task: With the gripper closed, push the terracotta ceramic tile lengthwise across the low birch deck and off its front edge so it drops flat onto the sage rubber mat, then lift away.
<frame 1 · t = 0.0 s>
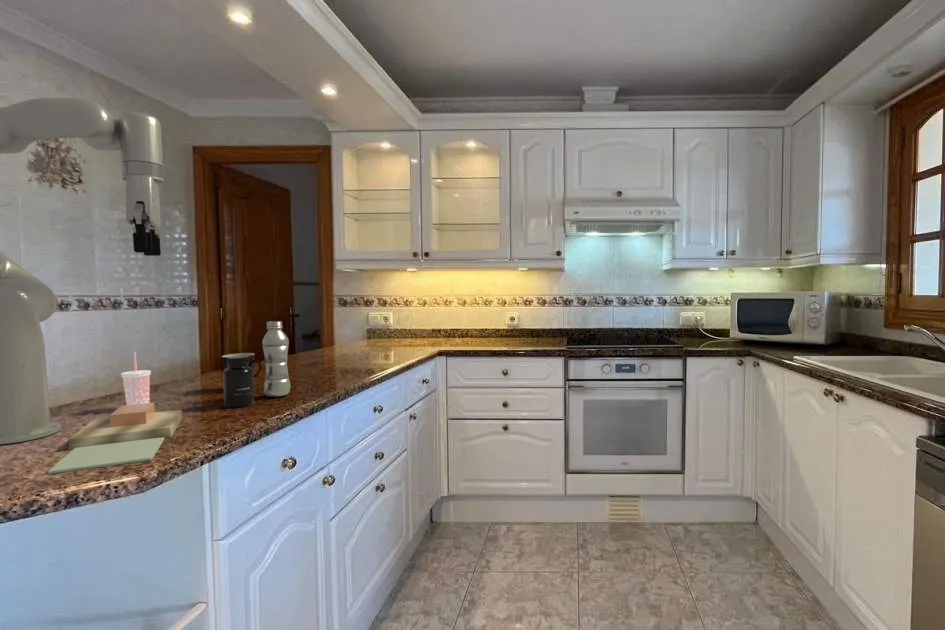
hand: (148, 254, 108), 37 cm above the worktop, tool pointing down, fingers open, 9 cm apart
beverage cup: (138, 408, 123), on the worktop
plastic bottle: (277, 397, 133), on the worktop
birch deck: (131, 432, 101), on the worktop
terracotta tile: (133, 419, 104), point 2 cm above the worktop, touching birch deck
sage mat: (111, 454, 88), on the worktop
coffee mug: (242, 391, 142), on the worktop
supplement bottle: (239, 405, 124), on the worktop
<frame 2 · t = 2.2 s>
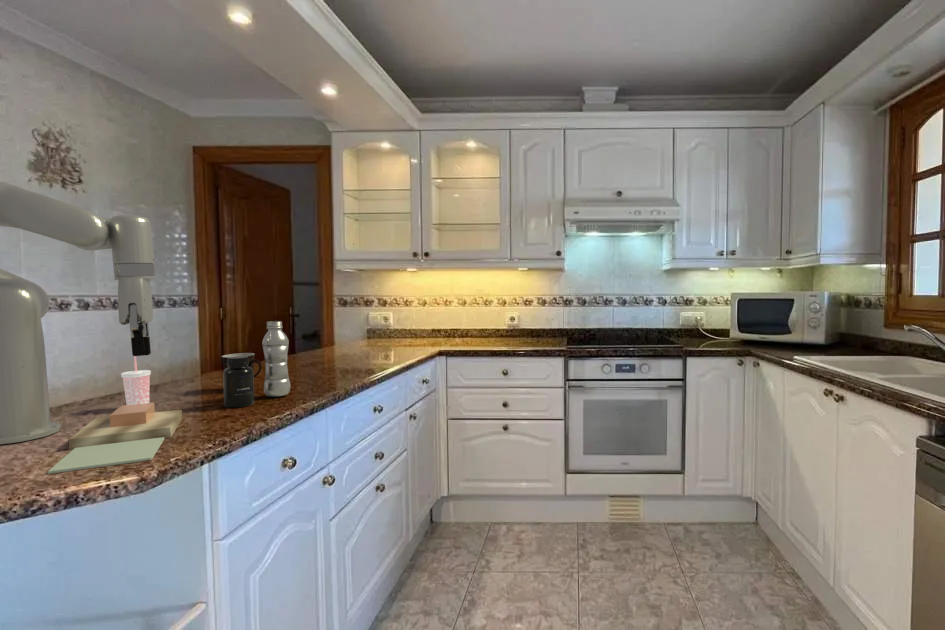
hand: (141, 355, 111), 15 cm above the worktop, tool pointing down, fingers closed
nothing on the worktop moved.
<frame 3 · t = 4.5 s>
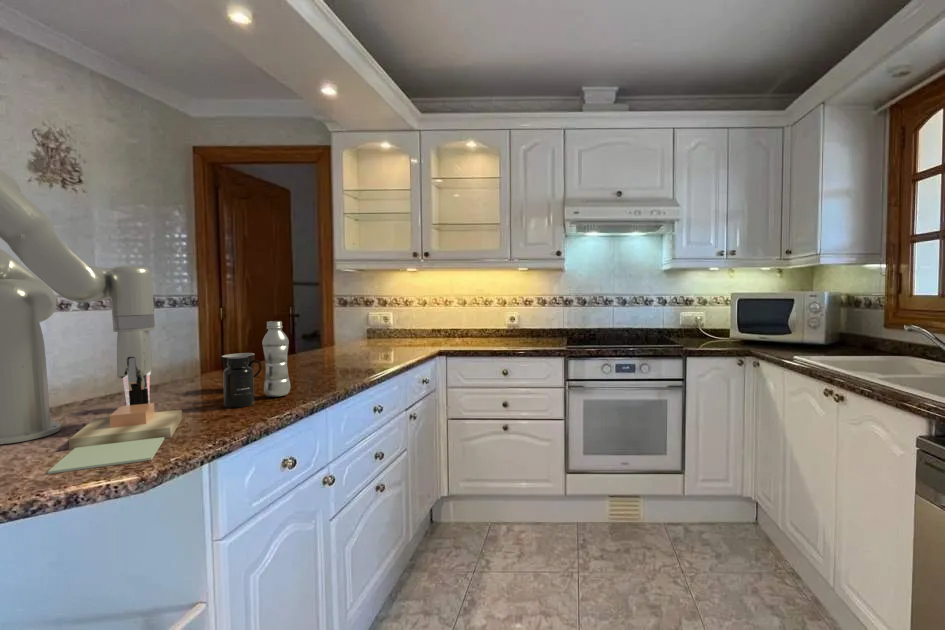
hand: (139, 407, 109), 3 cm above the worktop, tool pointing down, fingers closed
terracotta tile: (133, 420, 103), point 2 cm above the worktop, touching birch deck, gripper
everything else where it was.
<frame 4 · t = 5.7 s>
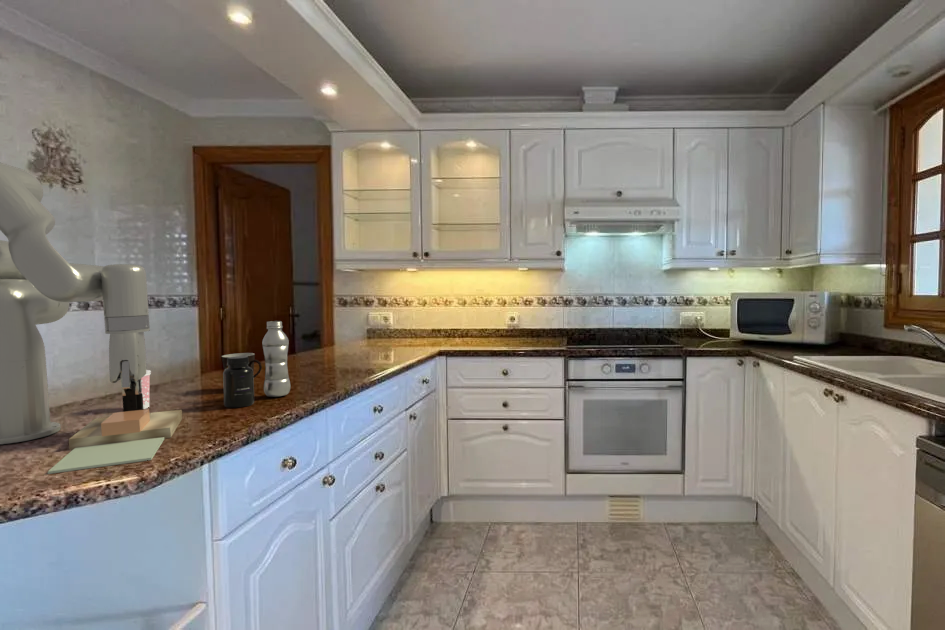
hand: (133, 413, 103), 4 cm above the worktop, tool pointing down, fingers closed
terracotta tile: (127, 428, 97), point 2 cm above the worktop, touching birch deck, gripper
everything else where it was.
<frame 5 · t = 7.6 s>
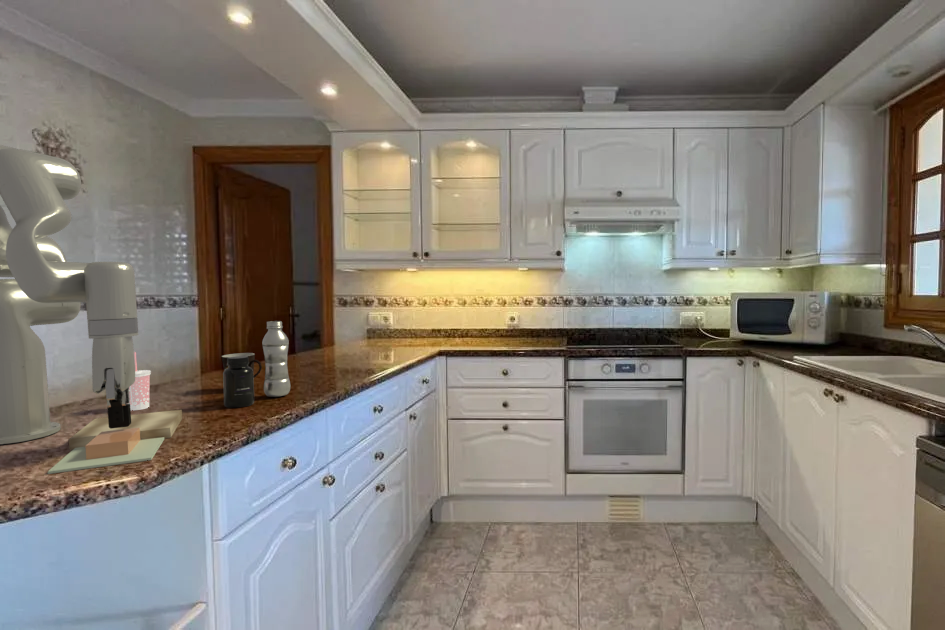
hand: (120, 426, 93), 4 cm above the worktop, tool pointing down, fingers closed
terracotta tile: (115, 449, 89), resting on sage mat
everything else where it was.
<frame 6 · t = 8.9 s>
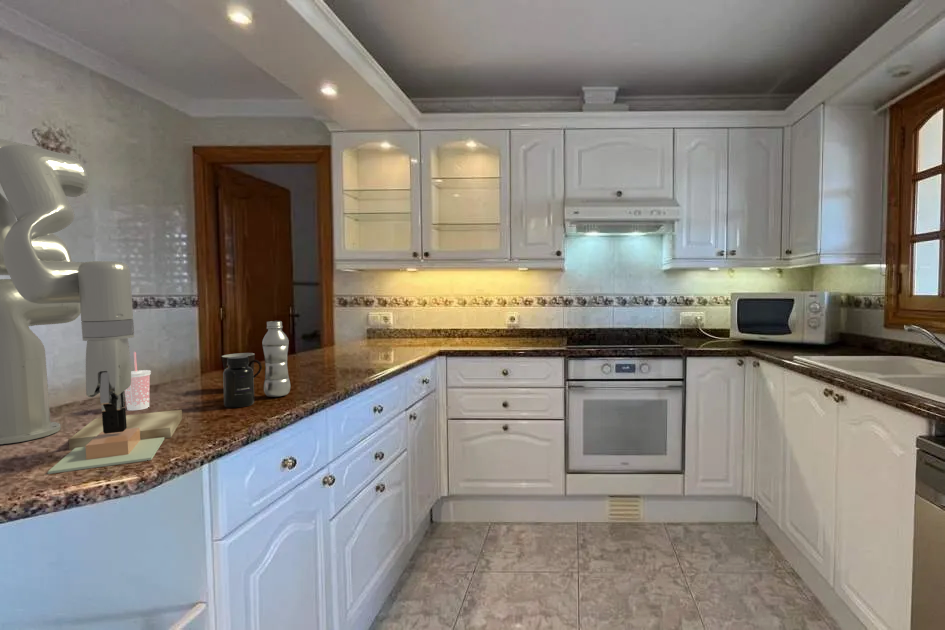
hand: (115, 431, 90), 3 cm above the worktop, tool pointing down, fingers closed
nothing on the worktop moved.
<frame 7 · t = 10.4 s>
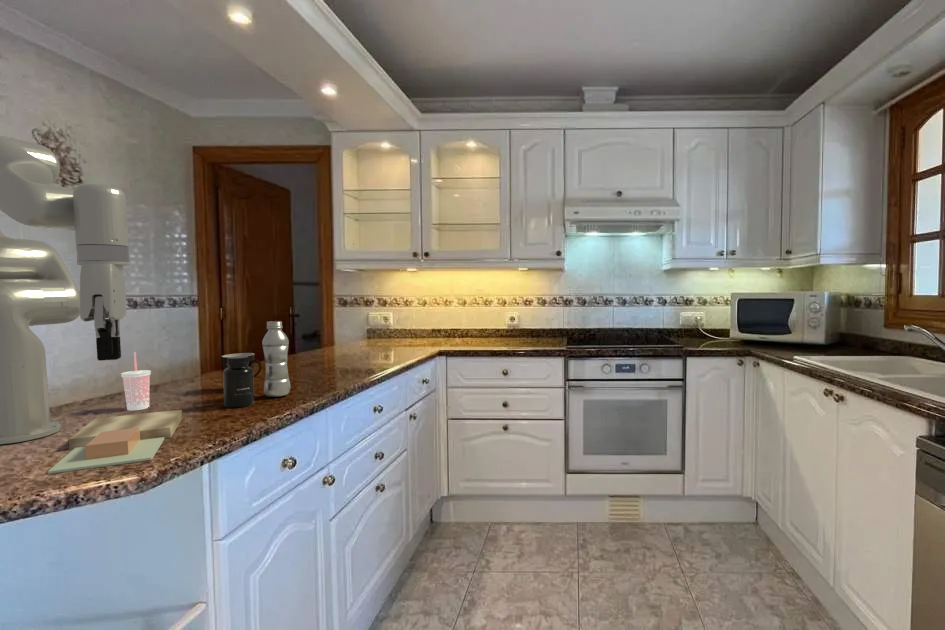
hand: (109, 359, 90), 17 cm above the worktop, tool pointing down, fingers closed
nothing on the worktop moved.
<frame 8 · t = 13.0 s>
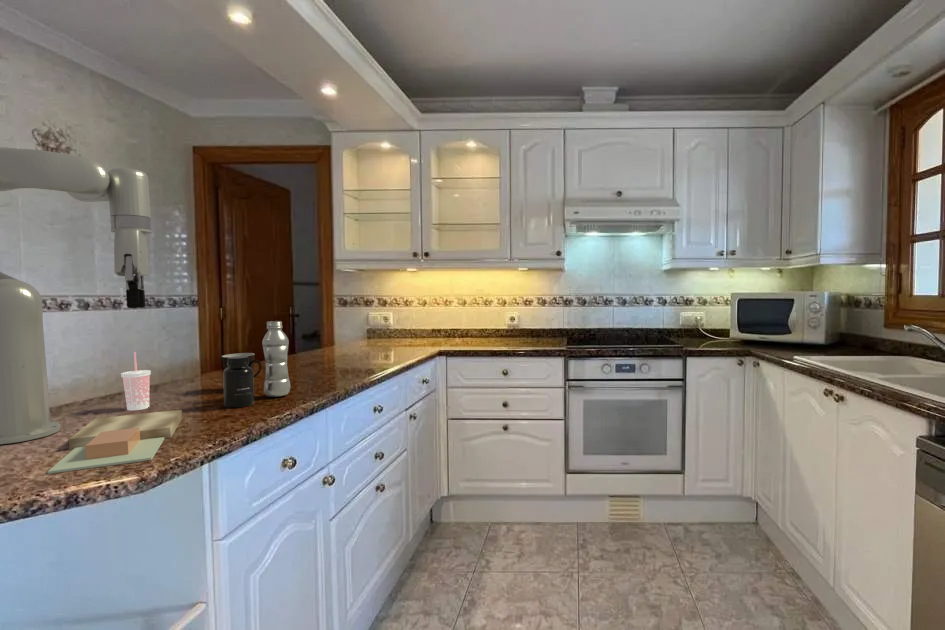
hand: (136, 307, 113), 25 cm above the worktop, tool pointing down, fingers closed
nothing on the worktop moved.
at the end: terracotta tile resting on sage mat; terracotta tile inside the target area (2.0 cm from its centre), resting on sage mat; terracotta tile tilted 0° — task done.
